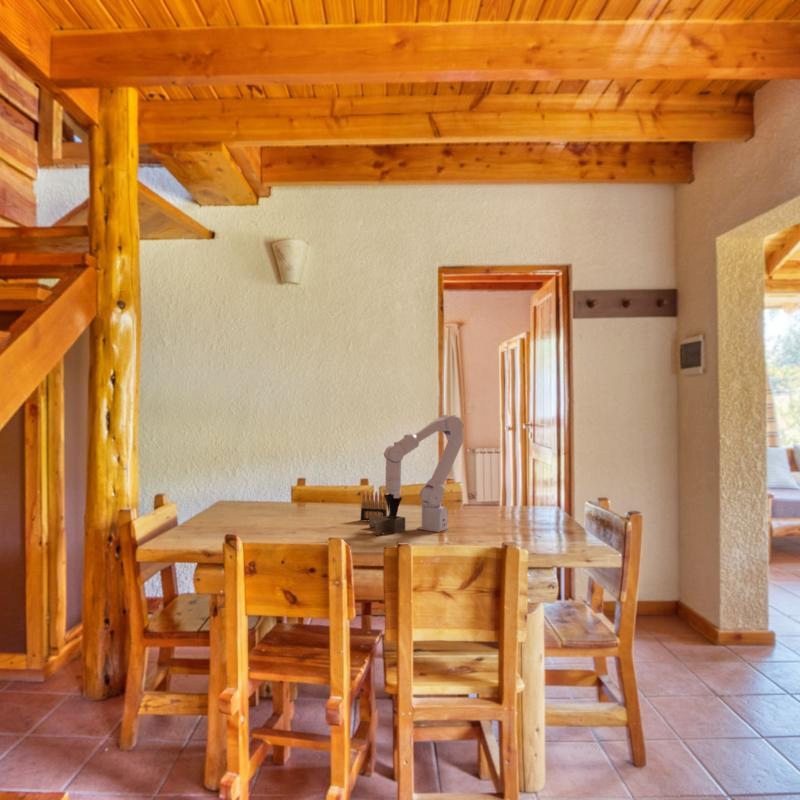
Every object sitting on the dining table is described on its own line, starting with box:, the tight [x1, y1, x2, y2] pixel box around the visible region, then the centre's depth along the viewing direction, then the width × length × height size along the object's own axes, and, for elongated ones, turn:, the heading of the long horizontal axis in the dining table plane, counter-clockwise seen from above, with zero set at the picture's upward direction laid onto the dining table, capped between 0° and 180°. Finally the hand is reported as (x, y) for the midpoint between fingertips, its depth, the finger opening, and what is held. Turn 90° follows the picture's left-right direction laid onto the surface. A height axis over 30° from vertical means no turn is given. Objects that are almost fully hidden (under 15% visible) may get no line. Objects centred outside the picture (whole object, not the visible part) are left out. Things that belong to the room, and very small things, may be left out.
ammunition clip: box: [360, 490, 388, 520], centre depth 243 cm, size 11×2×12 cm, turn 79°
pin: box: [388, 508, 397, 519], centre depth 225 cm, size 3×3×8 cm
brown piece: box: [368, 515, 406, 536], centre depth 224 cm, size 14×14×5 cm
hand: (392, 514), depth 225 cm, fingers closed on pin, 3 cm apart
